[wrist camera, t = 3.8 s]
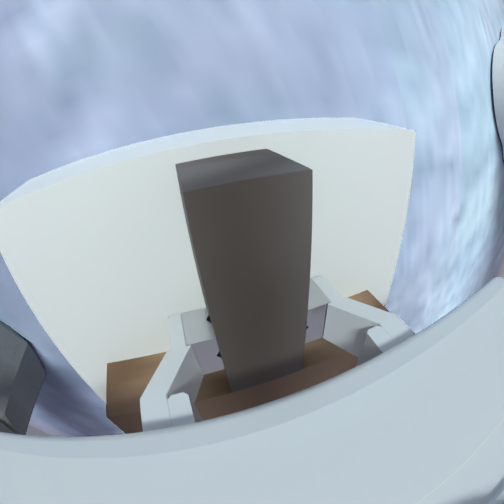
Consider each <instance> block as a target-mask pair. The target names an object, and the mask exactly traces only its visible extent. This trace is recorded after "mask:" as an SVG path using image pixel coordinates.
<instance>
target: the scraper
mask: <svg viewBox="0 0 504 504" xmlns="http://www.w3.org/2000/svg"><path fill="white" fill-rule="evenodd" d="M175 166H176V172H177V177H178V183H179V188H180V194H181V199H182V204H183V209H184V214H185V219H186V224H187V228H188V233H189V238H190V242H191V247H192V251H193V256H194V260H195V264H196V269H197V273H198V277H199V281H200V285H201V289H202V293H203V297H204V301H205V305H206V307H207V309H208V313H209V316H210V320H211V323H212V326H213V329H214V333H215V336H216V339H217V343H218V347H219V350H220V354H221V357H222V361H223V364H224V368H225V369H223V370H219V371H216V372H212V373H209V374H205V375H203V376H204V377H203V379H202V382H201V385H200V388H199V391H198V394H197V397H196V400H195V403H194V405H195V407H196V409H197V410H198V412H199V414H200V415H201V417H202V418H203V420H208V419H213V418H217V417H221V416H224V415H228V414H232V413H235V412H239V411H242V410H246V409H249V408H252V407H256V406H259V405H262V404H265V403H268V402H271V401H274V400H277V399H280V398H283V397H285V396H288V395H291V394H294V393H296V392H299V391H301V390H304V389H306V388H309V387H311V386H314V385H316V384H319V383H321V382H324V381H326V380H328V379H330V378H333V377H335V376H337V375H339V374H342V373H344V372H346V371H348V370H350V369H352V368H354V367H356V365H357V362H358V359H359V358H358V357H357V356H355V355H353V354H351V353H349V352H347V351H345V350H344V349H342V348H340V347H338V346H336V345H334V344H333V343H331V342H329V341H327V340H325V339H324V338H323V337H322V338H319V339H316V340H313V341H310V342H307V343H305V339H306V328H307V315H308V301H309V286H310V268H311V244H312V203H313V170H312V169H310V168H308V167H306V166H304V165H302V164H300V163H298V162H296V161H293V160H291V159H289V158H287V157H285V156H282V155H280V154H278V153H276V152H273V151H271V150H269V149H260V150H252V151H245V152H238V153H232V154H226V155H220V156H214V157H209V158H203V159H198V160H193V161H188V162H183V163H178V164H175ZM347 298H350V299H353V300H355V301H358V302H361V303H364V304H367V305H370V306H373V307H375V308H378V309H381V310H384V311H387V312H389V311H388V310H387V309H386V308H385V307H384V306H383V305H382V304H381V303H380V302H379V301H378V300H377V299H376V298H375V297H374V296H373V295H372V294H371V293H370V292H369V291H368V290H366V291H363V292H360V293H358V294H355V295H353V296H350V297H347ZM165 354H166V352H162V353H158V354H153V355H148V356H143V357H138V358H133V359H128V360H123V361H117V362H112V363H107V379H106V415H107V418H109V419H110V420H111V421H112V422H113V423H114V424H115V425H117V426H118V427H119V428H120V429H121V430H123V431H124V432H125V433H126V434H127V433H136V432H143V428H142V419H141V409H140V398H141V396H142V394H143V393H144V391H145V389H146V387H147V385H148V384H149V382H150V380H151V378H152V377H153V375H154V373H155V371H156V370H157V368H158V366H159V364H160V363H161V361H162V359H163V357H164V356H165Z"/></svg>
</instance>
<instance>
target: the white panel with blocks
mask: <svg viewBox="0 0 504 504" xmlns="http://www.w3.org/2000/svg"><path fill="white" fill-rule="evenodd" d="M415 137H416V131H414V130H411V129H407V128H403V127H399V126H395V125H390V124H386V123H381V122H376V121H371V120H366V119H361V118H301V119H283V120H270V121H259V122H250V123H241V124H233V125H225V126H218V127H212V128H206V129H200V130H194V131H189V132H183V133H178V134H173V135H169V136H164V137H159V138H155V139H151V140H147V141H142V142H138V143H135V144H131V145H127V146H123V147H120V148H116V149H113V150H109V151H106V152H103V153H100V154H96V155H93V156H90V157H87V158H84V159H81V160H78V161H75V162H73V163H70V164H67V165H64V166H62V167H59V168H56V169H54V170H51V171H49V172H46V173H44V174H41V175H39V176H37V177H34V178H32V179H30V180H28V181H27V182H25V183H24V184H22V185H21V186H20V187H18V188H17V189H16V190H14V191H13V192H12V193H10V194H9V195H8V196H6V197H5V198H4V199H3V200H1V201H0V252H1V254H2V256H3V258H4V260H5V262H6V265H7V267H8V269H9V271H10V273H11V274H12V276H13V278H14V280H15V282H16V284H17V286H18V288H19V289H20V291H21V293H22V295H23V296H24V298H25V300H26V301H27V303H28V305H29V306H30V308H31V310H32V311H33V313H34V314H35V316H36V318H37V319H38V321H39V322H40V324H41V325H42V327H43V328H44V330H45V331H46V332H47V334H48V335H49V337H50V338H51V339H52V341H53V342H54V344H55V345H56V346H57V348H58V349H59V350H60V352H61V353H62V354H63V355H64V357H65V358H66V359H67V360H68V362H69V363H70V364H71V365H72V367H73V368H74V369H75V370H76V371H77V373H78V374H79V375H80V376H81V377H82V378H83V380H84V381H85V382H86V383H87V384H88V385H89V386H90V387H91V388H92V389H93V391H94V392H95V393H96V394H97V395H98V396H99V397H100V398H101V399H102V400H103V401H104V402H105V403H106V379H107V363H112V362H117V361H123V360H128V359H133V358H138V357H143V356H148V355H153V354H158V353H162V352H167V351H168V350H171V345H170V338H169V330H168V322H167V318H168V316H171V315H176V314H181V313H184V312H188V311H193V310H197V309H202V308H206V305H205V301H204V297H203V293H202V289H201V285H200V281H199V277H198V273H197V269H196V264H195V260H194V256H193V251H192V247H191V242H190V238H189V233H188V228H187V224H186V219H185V214H184V209H183V204H182V199H181V194H180V188H179V183H178V177H177V172H176V166H175V164H178V163H183V162H188V161H193V160H198V159H203V158H209V157H214V156H220V155H226V154H232V153H238V152H245V151H252V150H260V149H269V150H271V151H273V152H276V153H278V154H280V155H282V156H285V157H287V158H289V159H291V160H293V161H296V162H298V163H300V164H302V165H304V166H306V167H308V168H310V169H312V170H313V203H312V244H311V268H310V278H311V277H314V276H317V275H322V276H323V277H324V278H325V279H326V280H327V281H328V282H329V283H330V284H331V285H332V287H333V288H334V289H335V290H336V291H337V292H338V293H339V294H340V295H341V297H342V298H345V297H350V296H353V295H355V294H358V293H360V292H363V291H366V290H368V291H369V292H370V293H371V294H372V295H373V296H374V297H375V298H376V299H377V300H378V301H379V302H380V303H381V304H382V305H383V306H384V307H385V304H386V301H387V298H388V294H389V291H390V287H391V284H392V280H393V276H394V272H395V268H396V264H397V260H398V255H399V251H400V246H401V242H402V237H403V232H404V227H405V221H406V216H407V210H408V203H409V197H410V189H411V182H412V173H413V163H414V152H415Z"/></svg>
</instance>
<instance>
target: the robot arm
mask: <svg viewBox="0 0 504 504" xmlns="http://www.w3.org/2000/svg"><path fill="white" fill-rule="evenodd" d="M492 81H493V98H494V108H495V116H496V122H497V128H498V132H499V136H500V139H501V142H502V146H503V158H504V29H502V30H501V38H500V40H499V41H498V42H497V44H496V46H495V49H494V53H493V65H492ZM167 322H168V330H169V338H170V345H171V350H168V351H167V352H166V354H165V356H164V357H163V359H162V361H161V363H160V364H159V366H158V368H157V370H156V371H155V373H154V375H153V377H152V378H151V380H150V382H149V384H148V385H147V387H146V389H145V391H144V393H143V394H142V396H141V398H140V409H141V419H142V428H143V432H136V433H127V434H117V435H104V436H83V437H54V436H33V435H21V434H12V433H5V432H0V504H504V278H502V277H495V278H493V279H492V280H491V281H490V282H488V283H487V284H486V285H485V286H483V287H482V288H481V289H480V290H478V291H477V292H476V293H475V294H473V295H472V296H471V297H469V298H468V299H467V300H465V301H464V302H463V303H461V304H460V305H459V306H457V307H456V308H455V309H453V310H452V311H450V312H449V313H447V314H446V315H445V316H443V317H442V318H440V319H439V320H437V321H436V322H434V323H433V324H431V325H430V326H428V327H426V328H425V329H423V330H422V331H420V332H418V333H417V334H415V333H414V332H413V331H412V330H411V329H410V328H409V327H408V326H407V325H406V324H405V323H404V322H403V321H402V320H401V319H400V318H399V316H398V315H396V314H393V313H390V312H387V311H384V310H381V309H378V308H375V307H373V306H370V305H367V304H364V303H361V302H358V301H355V300H353V299H350V298H347V297H345V298H342V297H341V295H340V294H339V293H338V292H337V291H336V290H335V289H334V288H333V287H332V285H331V284H330V283H329V282H328V281H327V280H326V279H325V278H324V277H323V276H322V275H317V276H314V277H311V278H310V286H309V301H308V315H307V328H306V339H305V343H307V342H310V341H313V340H316V339H319V338H322V337H323V338H324V339H325V340H327V341H329V342H331V343H333V344H334V345H336V346H338V347H340V348H342V349H344V350H345V351H347V352H349V353H351V354H353V355H355V356H357V357H358V358H359V359H358V362H357V365H356V367H354V368H352V369H350V370H348V371H346V372H344V373H342V374H339V375H337V376H335V377H333V378H330V379H328V380H326V381H324V382H321V383H319V384H316V385H314V386H311V387H309V388H306V389H304V390H301V391H299V392H296V393H294V394H291V395H288V396H285V397H283V398H280V399H277V400H274V401H271V402H268V403H265V404H262V405H259V406H256V407H252V408H249V409H246V410H242V411H239V412H235V413H232V414H228V415H224V416H221V417H217V418H213V419H208V420H203V418H202V417H201V415H200V414H199V412H198V410H197V409H196V407H195V405H194V403H195V400H196V397H197V394H198V391H199V388H200V385H201V382H202V379H203V377H204V376H203V375H205V374H209V373H212V372H216V371H219V370H223V369H225V368H224V364H223V361H222V357H221V354H220V350H219V347H218V343H217V339H216V336H215V333H214V329H213V326H212V323H211V320H210V316H209V313H208V309H207V307H206V308H202V309H197V310H193V311H188V312H184V313H181V314H176V315H171V316H168V318H167Z"/></svg>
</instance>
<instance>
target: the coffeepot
mask: <svg viewBox="0 0 504 504" xmlns="http://www.w3.org/2000/svg"><path fill="white" fill-rule="evenodd" d="M45 375H46V372H45V370H44V368H43V366H42V363H41V361H40V359H39V357H38V355H37V354H36V352H35V351H34V350H33V348H32V347H31V346H30V345H29V344H28V343H27V341H26V340H25V339H23V338H22V337H21V336H20V335H19V334H18V333H17V332H16V331H14V330H13V329H12V328H10V327H9V326H7V325H6V324H4V323H3V322H1V321H0V432H5V433H12V434H21V435H25V434H26V431H27V428H28V424H29V421H30V418H31V414H32V411H33V408H34V405H35V402H36V399H37V397H38V394H39V391H40V388H41V386H42V383H43V380H44V378H45Z"/></svg>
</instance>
